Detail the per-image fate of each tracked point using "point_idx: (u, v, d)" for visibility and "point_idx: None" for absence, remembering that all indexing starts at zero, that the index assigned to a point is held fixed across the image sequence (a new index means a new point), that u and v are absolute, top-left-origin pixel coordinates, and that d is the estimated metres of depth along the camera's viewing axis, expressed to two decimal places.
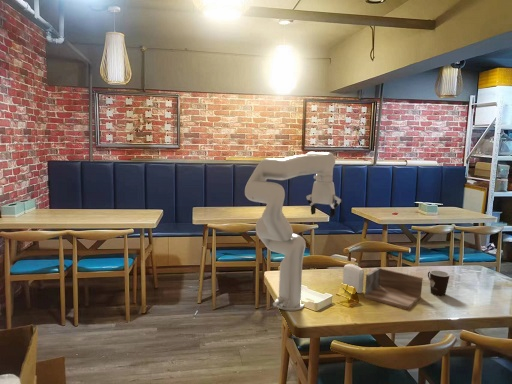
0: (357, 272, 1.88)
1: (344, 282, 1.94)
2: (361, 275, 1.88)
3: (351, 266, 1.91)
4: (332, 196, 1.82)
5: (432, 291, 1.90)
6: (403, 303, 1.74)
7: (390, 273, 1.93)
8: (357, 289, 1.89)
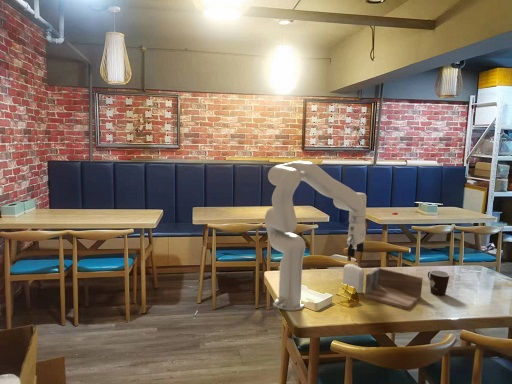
0: (357, 272, 1.88)
1: (344, 282, 1.94)
2: (361, 275, 1.88)
3: (351, 266, 1.91)
4: None
5: (432, 291, 1.90)
6: (403, 303, 1.74)
7: (390, 273, 1.93)
8: (357, 289, 1.89)
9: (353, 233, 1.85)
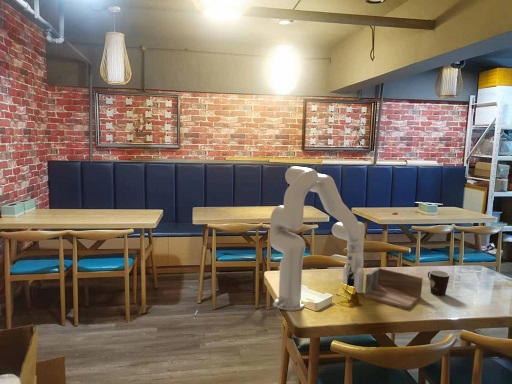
0: (357, 272, 1.88)
1: (344, 282, 1.94)
2: (361, 275, 1.88)
3: None
4: None
5: (432, 291, 1.90)
6: (403, 303, 1.74)
7: (390, 273, 1.93)
8: (357, 289, 1.89)
9: (351, 262, 1.87)
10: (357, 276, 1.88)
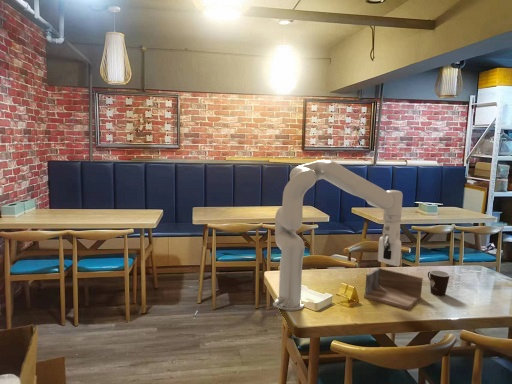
0: (395, 243, 1.76)
1: (379, 255, 1.83)
2: (399, 247, 1.76)
3: None
4: None
5: (432, 291, 1.90)
6: (403, 303, 1.74)
7: (390, 273, 1.93)
8: (395, 262, 1.77)
9: (388, 233, 1.75)
10: (395, 248, 1.76)
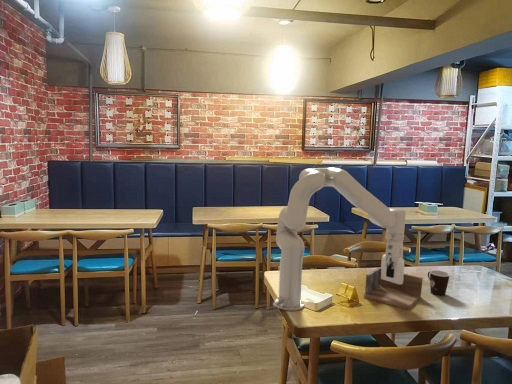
0: (398, 262, 1.76)
1: (382, 273, 1.83)
2: (402, 265, 1.76)
3: None
4: None
5: (432, 291, 1.90)
6: (403, 303, 1.74)
7: None
8: (397, 280, 1.77)
9: (391, 251, 1.75)
10: (398, 266, 1.76)
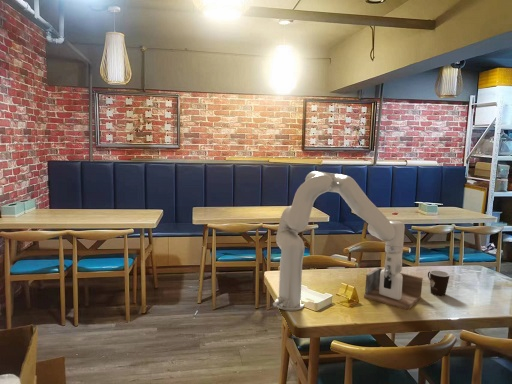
0: (396, 277, 1.77)
1: (381, 288, 1.83)
2: (400, 281, 1.77)
3: None
4: None
5: (432, 291, 1.90)
6: (403, 303, 1.74)
7: None
8: (396, 295, 1.78)
9: (390, 264, 1.76)
10: (396, 282, 1.77)
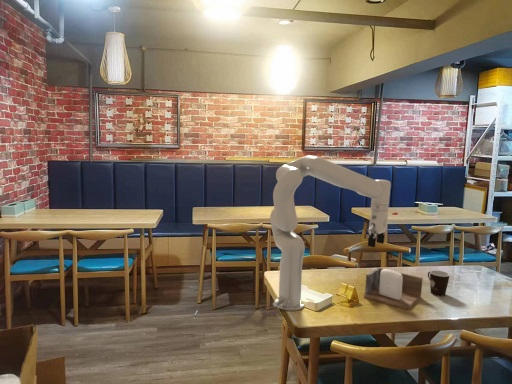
0: (396, 277, 1.77)
1: (381, 288, 1.83)
2: (400, 281, 1.77)
3: (389, 271, 1.80)
4: None
5: (432, 291, 1.90)
6: (403, 303, 1.74)
7: None
8: (396, 295, 1.78)
9: (375, 222, 1.75)
10: (396, 282, 1.77)
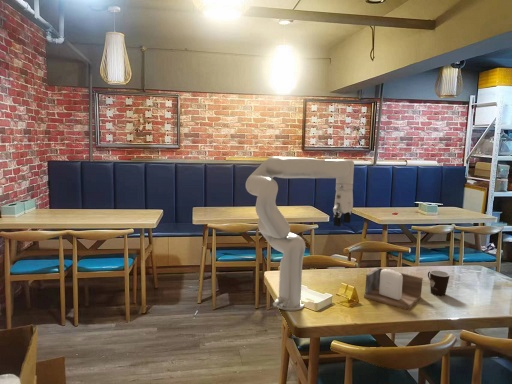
0: (396, 277, 1.77)
1: (381, 288, 1.83)
2: (400, 281, 1.77)
3: (389, 271, 1.80)
4: None
5: (432, 291, 1.90)
6: (403, 303, 1.74)
7: None
8: (396, 295, 1.78)
9: (339, 201, 1.77)
10: (396, 282, 1.77)
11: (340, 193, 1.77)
